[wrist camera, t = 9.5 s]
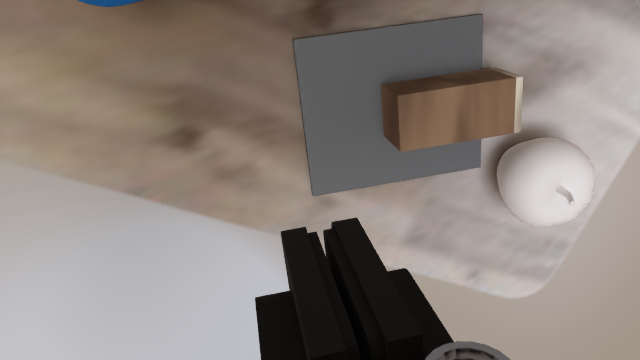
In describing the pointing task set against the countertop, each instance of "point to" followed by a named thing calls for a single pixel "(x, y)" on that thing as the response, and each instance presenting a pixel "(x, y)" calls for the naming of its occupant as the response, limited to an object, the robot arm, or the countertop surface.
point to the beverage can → (109, 2)
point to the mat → (378, 100)
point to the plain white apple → (545, 181)
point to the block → (451, 108)
